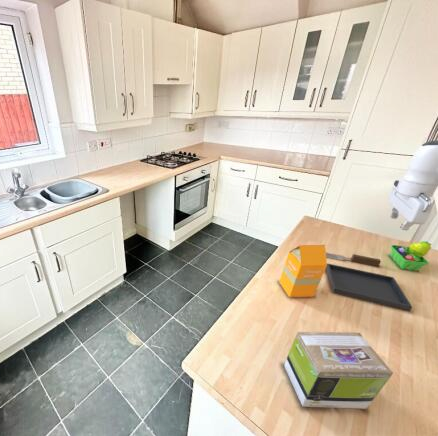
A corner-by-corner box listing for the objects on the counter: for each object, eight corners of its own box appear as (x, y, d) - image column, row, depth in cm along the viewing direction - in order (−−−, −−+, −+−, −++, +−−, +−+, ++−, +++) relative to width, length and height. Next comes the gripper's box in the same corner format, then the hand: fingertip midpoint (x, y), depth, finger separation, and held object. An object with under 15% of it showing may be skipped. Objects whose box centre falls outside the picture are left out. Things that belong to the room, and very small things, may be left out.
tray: (391, 281, 93) (393, 277, 92) (409, 311, 81) (412, 307, 80) (325, 267, 101) (326, 263, 100) (333, 292, 88) (334, 288, 87)
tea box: (338, 366, 65) (361, 331, 58) (366, 410, 56) (397, 374, 49) (282, 365, 66) (297, 329, 59) (301, 408, 57) (321, 372, 50)
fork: (376, 263, 102) (379, 258, 101) (378, 267, 100) (381, 262, 98) (324, 253, 109) (326, 248, 107) (325, 256, 106) (328, 251, 105)
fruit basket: (384, 253, 108) (397, 232, 102) (409, 257, 105) (423, 235, 100) (399, 270, 98) (413, 247, 93) (427, 274, 96) (443, 251, 90)
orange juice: (313, 296, 87) (333, 251, 77) (289, 297, 87) (305, 252, 77) (301, 281, 94) (318, 238, 84) (278, 281, 94) (292, 238, 84)
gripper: (446, 201, 74) (423, 239, 81) (414, 180, 91) (397, 213, 97) (418, 198, 77) (398, 235, 83) (392, 178, 93) (377, 210, 99)
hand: (398, 223), depth 90 cm, fingers open, 8 cm apart
